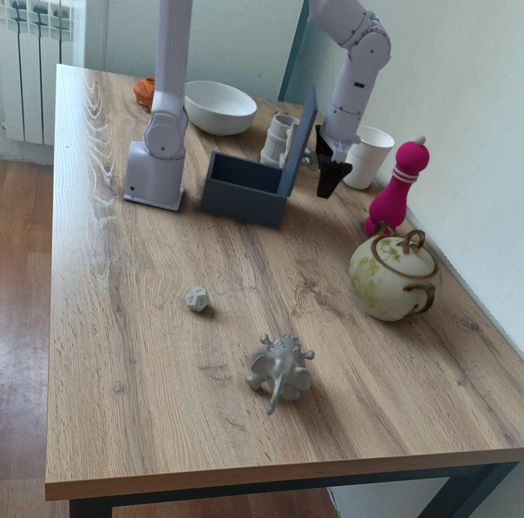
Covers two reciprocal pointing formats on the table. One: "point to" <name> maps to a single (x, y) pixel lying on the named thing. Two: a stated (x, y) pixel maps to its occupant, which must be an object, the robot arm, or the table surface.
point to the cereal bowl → (218, 107)
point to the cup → (367, 156)
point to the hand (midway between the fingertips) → (320, 182)
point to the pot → (145, 91)
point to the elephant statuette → (280, 368)
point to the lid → (302, 143)
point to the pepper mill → (398, 186)
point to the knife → (281, 111)
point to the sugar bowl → (394, 275)
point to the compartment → (244, 190)
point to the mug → (279, 140)
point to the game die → (197, 299)
